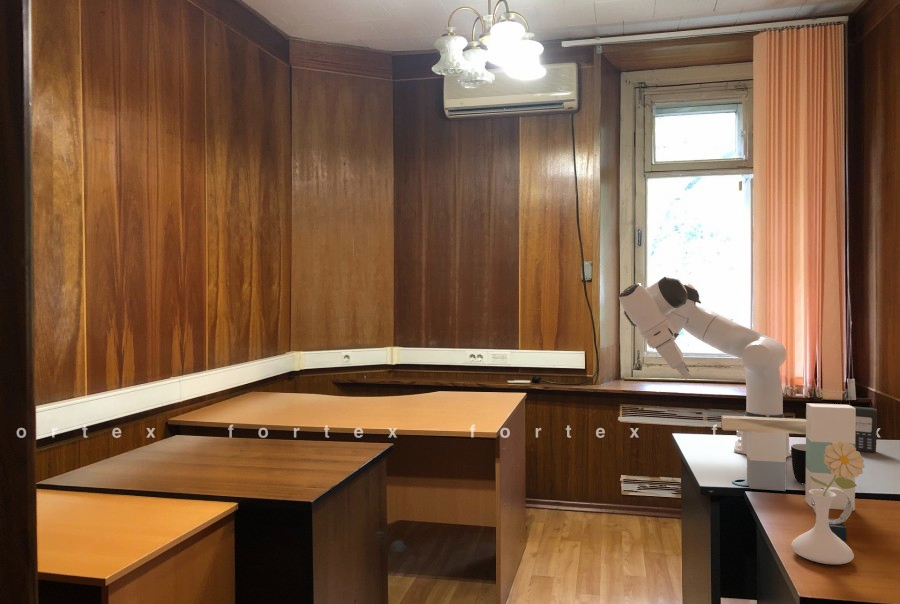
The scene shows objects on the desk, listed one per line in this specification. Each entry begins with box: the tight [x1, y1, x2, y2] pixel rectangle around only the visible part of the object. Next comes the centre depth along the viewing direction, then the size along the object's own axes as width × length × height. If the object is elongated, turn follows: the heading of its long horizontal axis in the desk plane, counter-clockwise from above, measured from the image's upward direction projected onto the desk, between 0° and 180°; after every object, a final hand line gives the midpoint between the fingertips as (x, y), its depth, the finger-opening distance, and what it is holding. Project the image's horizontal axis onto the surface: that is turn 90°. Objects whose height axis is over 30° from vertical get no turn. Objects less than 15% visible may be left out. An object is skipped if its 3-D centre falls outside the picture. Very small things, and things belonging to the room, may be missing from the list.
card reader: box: [851, 405, 878, 454], centre depth 222 cm, size 9×4×15 cm, turn 57°
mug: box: [790, 443, 806, 485], centre depth 189 cm, size 12×9×10 cm
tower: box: [805, 402, 856, 511], centre depth 167 cm, size 5×10×26 cm, turn 75°
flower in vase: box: [790, 440, 865, 565], centre depth 134 cm, size 13×11×25 cm
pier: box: [746, 431, 787, 492], centre depth 183 cm, size 5×9×16 cm, turn 75°
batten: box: [720, 415, 806, 435], centre depth 182 cm, size 4×22×4 cm, turn 75°
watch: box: [812, 487, 854, 543], centre depth 147 cm, size 6×8×11 cm
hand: (687, 375), depth 184 cm, fingers open, 8 cm apart
